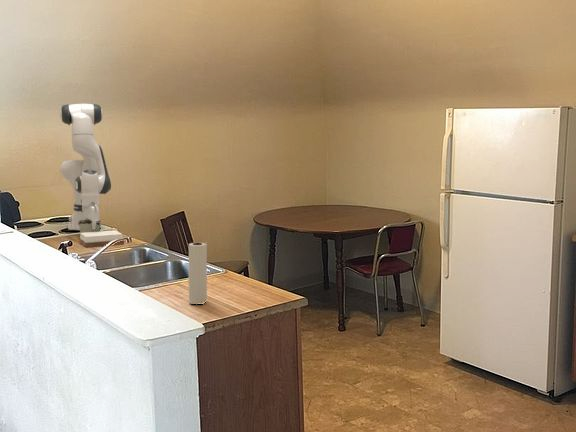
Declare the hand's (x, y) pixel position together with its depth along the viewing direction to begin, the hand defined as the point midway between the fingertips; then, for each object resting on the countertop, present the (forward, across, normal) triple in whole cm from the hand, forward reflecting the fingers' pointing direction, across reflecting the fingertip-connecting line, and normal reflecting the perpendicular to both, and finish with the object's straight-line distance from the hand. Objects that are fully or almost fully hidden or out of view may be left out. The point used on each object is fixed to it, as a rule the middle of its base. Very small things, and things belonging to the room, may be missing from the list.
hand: (91, 227), depth 348 cm
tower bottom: (+7, -14, -2) cm, 16 cm away
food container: (+6, 0, 0) cm, 6 cm away
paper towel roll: (+8, -135, -4) cm, 136 cm away
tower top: (+4, -14, -1) cm, 15 cm away
